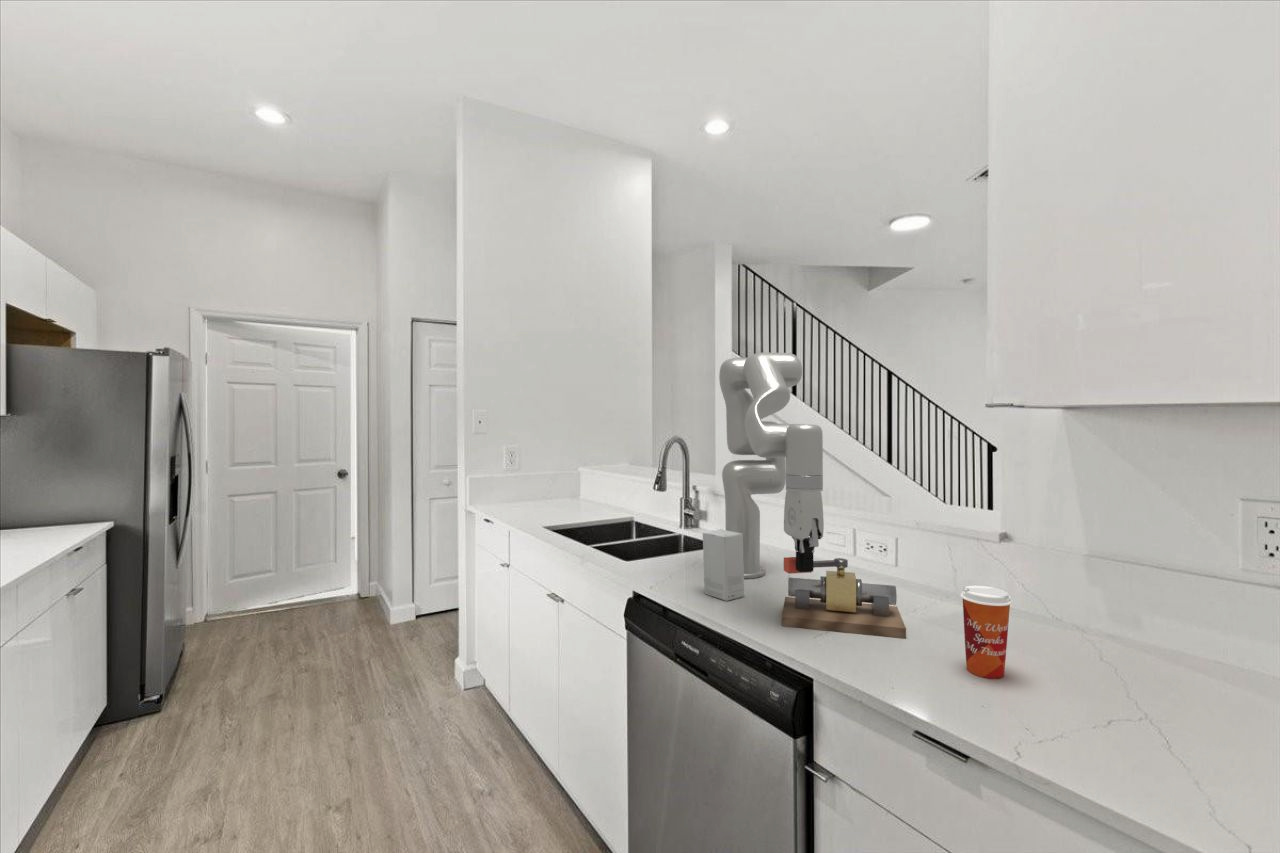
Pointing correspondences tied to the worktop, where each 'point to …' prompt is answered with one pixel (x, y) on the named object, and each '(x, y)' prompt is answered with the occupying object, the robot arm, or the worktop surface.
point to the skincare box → (723, 564)
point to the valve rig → (843, 605)
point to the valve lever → (791, 564)
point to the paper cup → (986, 630)
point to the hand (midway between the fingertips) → (804, 570)
